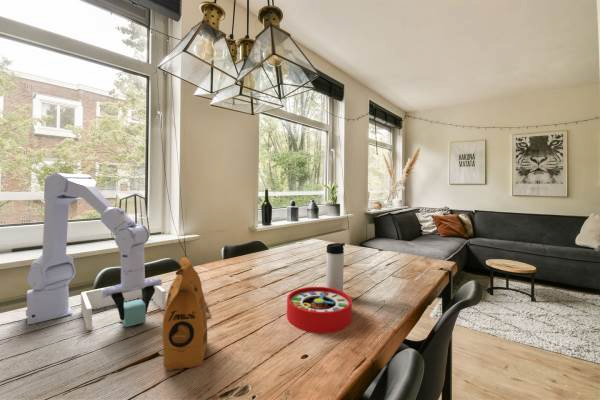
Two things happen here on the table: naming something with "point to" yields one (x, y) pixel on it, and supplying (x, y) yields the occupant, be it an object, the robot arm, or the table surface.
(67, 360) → the table surface
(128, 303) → the teal block
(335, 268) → the travel mug
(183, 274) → the coffee package
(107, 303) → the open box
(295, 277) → the table surface
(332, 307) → the toy clock
